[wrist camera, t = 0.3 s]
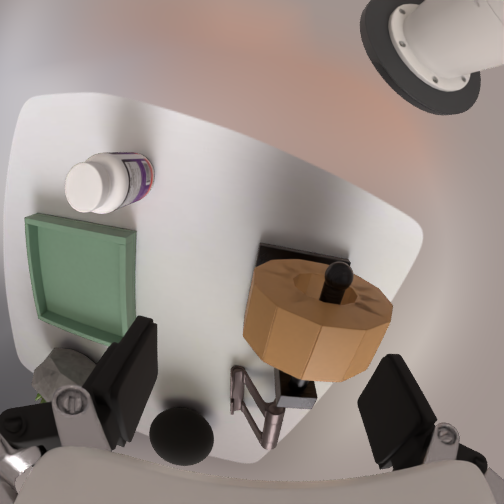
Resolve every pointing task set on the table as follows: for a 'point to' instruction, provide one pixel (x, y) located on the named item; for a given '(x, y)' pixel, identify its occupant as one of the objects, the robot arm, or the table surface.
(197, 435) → the decorative ball
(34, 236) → the tray
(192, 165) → the table surface
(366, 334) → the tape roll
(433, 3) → the robot arm
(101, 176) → the pill bottle
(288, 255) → the hook rack
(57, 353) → the potted plant
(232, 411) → the tablet stand
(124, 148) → the table surface
